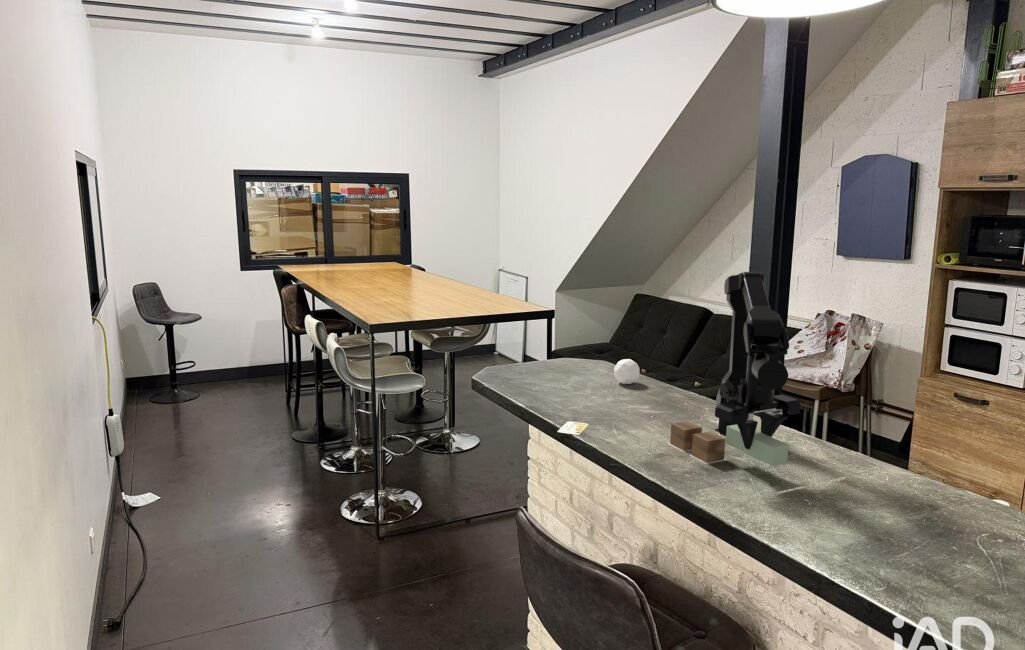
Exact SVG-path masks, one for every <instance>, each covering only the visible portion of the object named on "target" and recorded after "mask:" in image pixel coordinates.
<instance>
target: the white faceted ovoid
mask: <svg viewBox="0 0 1025 650" xmlns="http://www.w3.org/2000/svg"><path fill="white" fill-rule="evenodd" d="M613 370H614V372H613V374H614V377H615V379H616V380H617V381H618V382H619V383H621V384H622V385H632V384H634V383H635V382H637V380H638V378H639V377H640V366H639V364H638V363H637V362H635V361H634V360H632V359H631V358H624V359H621V360H619V361H618V362H617V363H616V364H615V366H614V369H613Z"/></svg>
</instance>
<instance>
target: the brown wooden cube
mask: <svg viewBox="0 0 1025 650" xmlns="http://www.w3.org/2000/svg"><path fill="white" fill-rule="evenodd" d="M702 431H703V427H702V426H700V425H698V424H695V423H693V422H691V421H690V420H686V421H681V422H679V421H678V422H675V423H674V422H673V423H671V425H670V440H669V441H670V442H669V443H670V444H672V445H674V446H675V447H677V448H679V449H681V450H683V451H685V450H691V449H692V443H693V434H697V433H703V432H702ZM675 447H674V448H675ZM677 448H676V449H677Z"/></svg>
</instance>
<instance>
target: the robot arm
mask: <svg viewBox="0 0 1025 650" xmlns="http://www.w3.org/2000/svg"><path fill="white" fill-rule="evenodd" d="M723 290H724V295H726V296H725V297H726V302H727V304H728V305H729V307H730V309H731V311H732V313H731V315H732V317H731V333H730V334H731V336H730V351H729V352H730V353H729V369H728V371H727V372H726V373H725V375H724V376H723V378H722V379H721V383H720V386H719V388H718V391H717V393H716V394H717V395H716V398H715V408H714V417H715V418H718V427H717V428H715V429H714V431H715V432H718V433H720V434H722V435H724V436H726V430H727V426H730V425H738V428H739V430H740V433H741V436H742V440H743V443H744V446H745V448H746V449H750V447H751V445H752V442H753V438H754V435H755V431H757V427H758V425H759V424H758V421H756V420H754V415H755V414H758V416H759V418H760V432H761V433H763V434H766V435H768V436H770V437H772V438H773V436H774V434H775V433H776V431H777V429H778V428H779V427H780V426H781V424H783V422H784V421H785V420H788V416H787V415H785V414H783V410H786V412H787V414H788V415H790V416H794V415H799V414H801V407H802V405H801V402H800V401H799V399H796V398H794V397H791V396H787V395H785V394H778V395H777V394H776V395H775V390H778V389H781V388H782V387H784V386H785V385H786V383H787V382H788V380H789V372H788V369H787V367H786V365H784V364H783V363H782V362H781V361H780V355H788V350H789V349H790V342H789V335H788V329H787V328H786V325H785V323H783V321H782V318H781V316H780V314H779V313H778V312H777V311H775V310H773V308H772V309H771V306H770V303H769V299H768V296H767V291H766V277H765V276H764V273H762V272H761V271H760V272H759V271H742V272H740V273H738V274H732V275H730V276H727V278H726V279H725V280H724V287H723Z"/></svg>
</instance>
